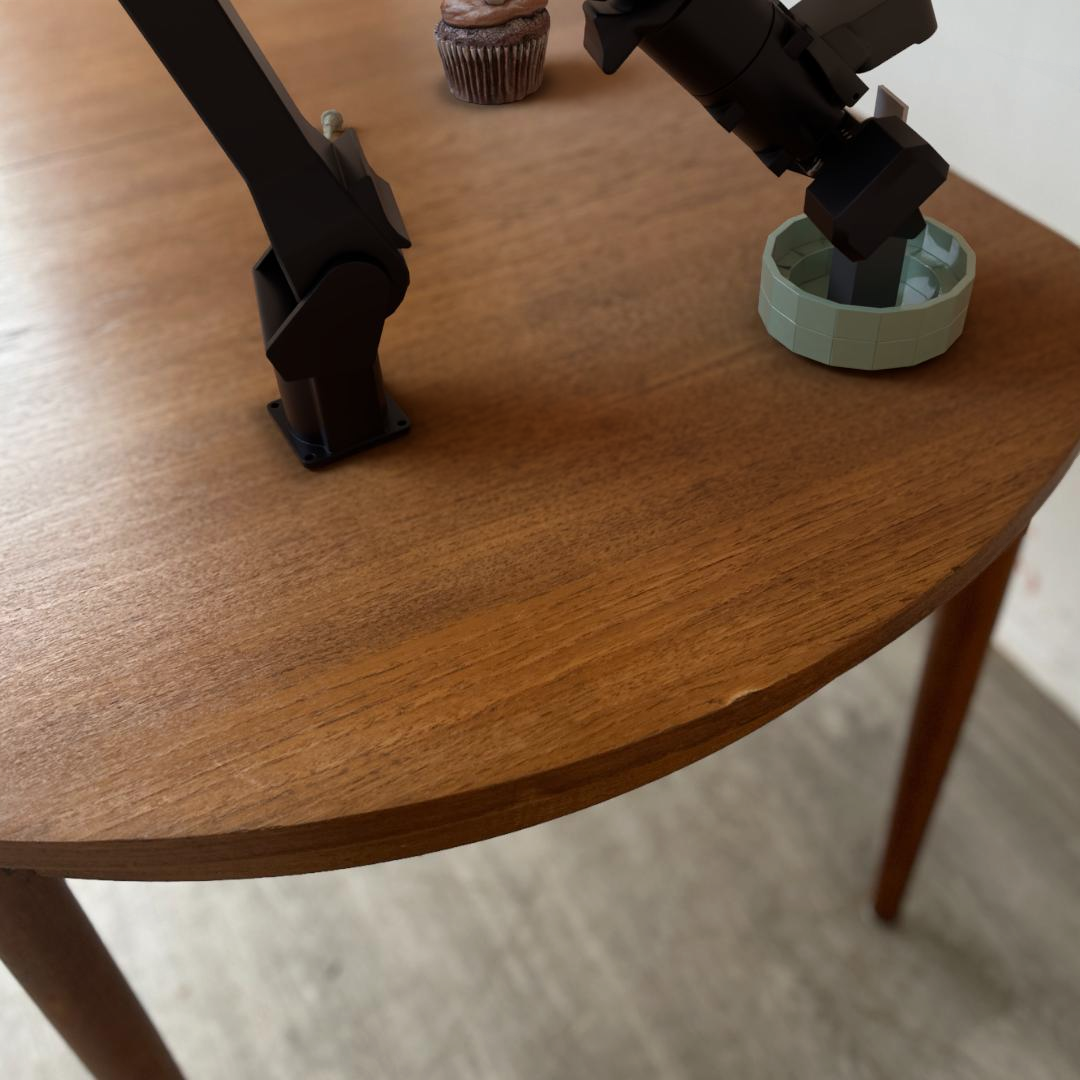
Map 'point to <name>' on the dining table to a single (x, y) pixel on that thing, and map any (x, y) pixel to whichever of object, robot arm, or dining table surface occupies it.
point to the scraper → (883, 268)
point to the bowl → (856, 331)
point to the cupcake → (493, 48)
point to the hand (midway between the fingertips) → (897, 210)
